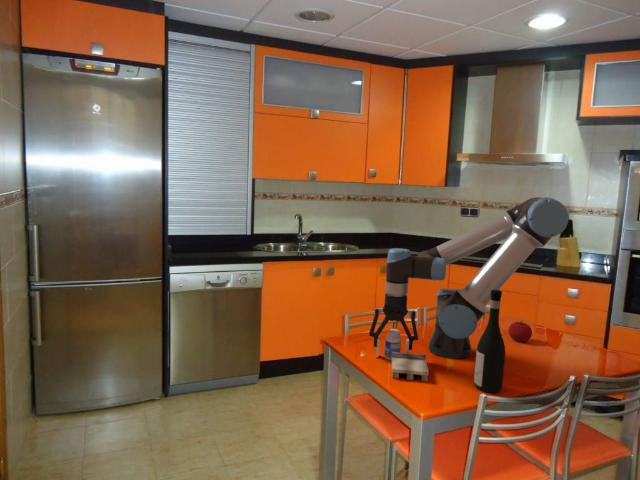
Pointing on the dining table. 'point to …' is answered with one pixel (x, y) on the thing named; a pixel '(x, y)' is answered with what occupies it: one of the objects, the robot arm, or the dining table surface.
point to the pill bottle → (392, 343)
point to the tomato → (520, 331)
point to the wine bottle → (491, 351)
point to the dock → (409, 365)
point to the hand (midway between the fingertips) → (392, 357)
